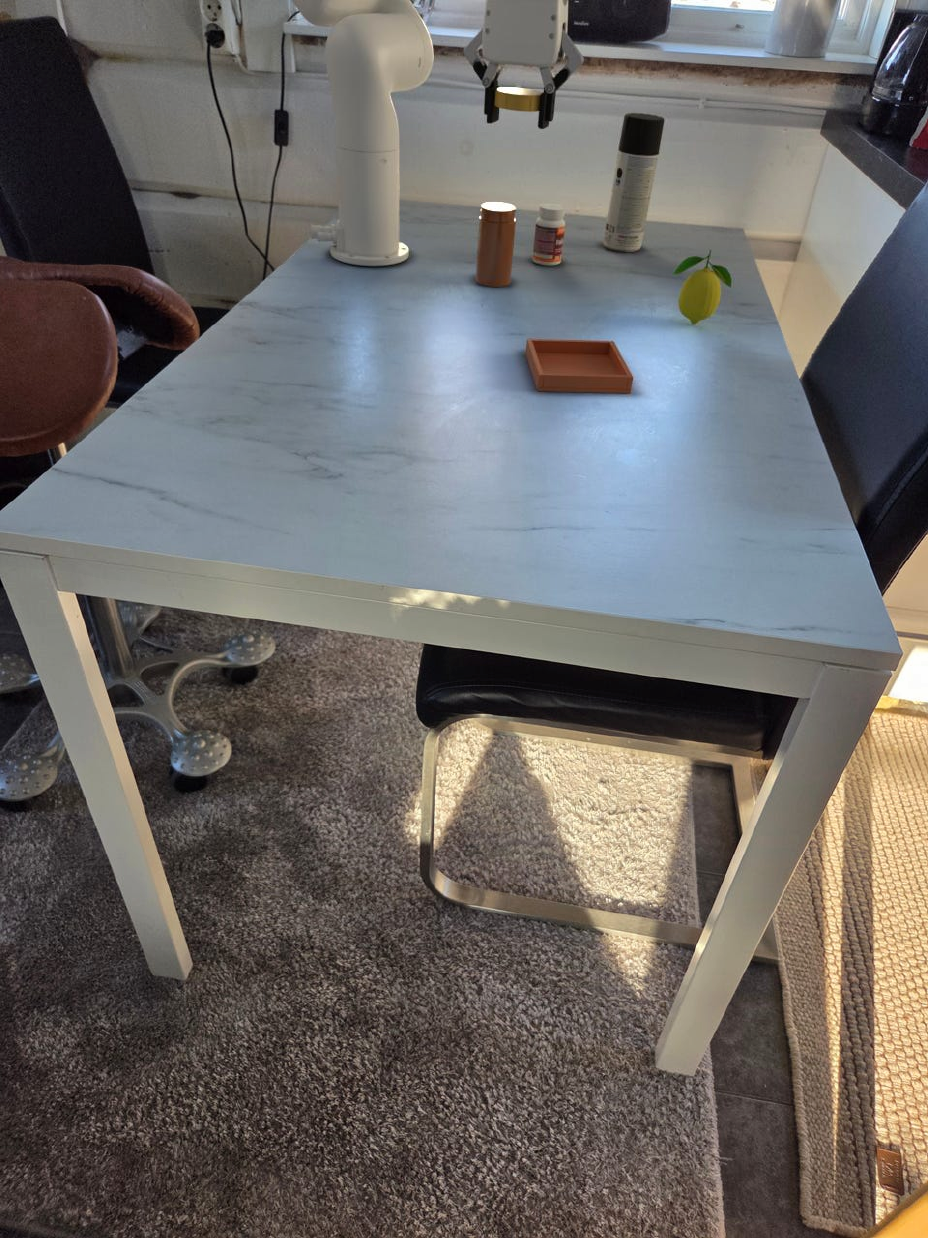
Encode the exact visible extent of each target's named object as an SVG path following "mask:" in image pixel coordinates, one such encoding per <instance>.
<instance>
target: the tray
mask: <svg viewBox="0 0 928 1238" xmlns="http://www.w3.org/2000/svg"><path fill="white" fill-rule="evenodd" d="M525 343H526V344H525V351H524V352H525V353H524V355H525V358H526V360H527V363H528V365H529V366H528V367H529V370H530V372H531V373H530V374H531V376H532V379H533V382H534V385H535V388H536V390H537V392H556V393H557V392H559V393H562V392H563V393H601V394H602V393H604V394H631V393H632V388H633V384H634V383H633V382H634V376H633V373H632V372H631V370H630V368H629V367H628V365H627V362H626V361H625V359H624V356H622V353H621V352H620V349H618V346H617V345H616V343H615V341H614V340H591V339H590V340H589V339H588V340H586V339H555V338H554V339H552V338H526V341H525Z"/></svg>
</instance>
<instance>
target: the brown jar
mask: <svg viewBox="0 0 928 1238" xmlns="http://www.w3.org/2000/svg"><path fill="white" fill-rule="evenodd" d="M516 211H517V207H516V206H515V205H513V204H511V203H506V202H497V201H494V202H493V201H491V202H484V203H482V204H481V207H480V211H479V212H480V216H479V218H478V232H477V234H478V235H477V248H476V249H477V250H476V266H475V282H476V283H477V284H478V285H481V286H484V287H489V288H503V287H507V286H509V285H511V280H512V269H513V257H514V247H515V237H516V236H515V235H516V225H517V219H516Z"/></svg>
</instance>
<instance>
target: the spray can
mask: <svg viewBox="0 0 928 1238" xmlns="http://www.w3.org/2000/svg"><path fill="white" fill-rule="evenodd" d="M664 126H665V118H664V117H662V116H658V115H656V114H650V113H643V112H641V113H640V112H629V113H626V114H624V116H623V122H622V127H621V132H620V138H619V144H618V148H617V154H616V155H617V157H616V162H615V168H614V174H613V180H612V186H611V193H610V199H609V203H608V210H607V217H606V224H605V229H604V236H603V247H604V248H605V249H607V250H610V251H612V252H617V253H633V252H637V251H639V250H640V249H641V247H642V243H643V237H644V233H645V228H646V222H647V218H648V212H649V208H650V201H651V196H652V191H653V185H654V180H655V175H656V170H657V165H658V161H659V160H658V159H659V154H660V150H661V143H662V138H663V132H664Z"/></svg>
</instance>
